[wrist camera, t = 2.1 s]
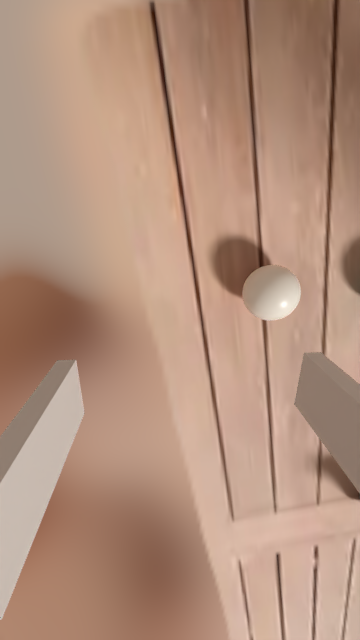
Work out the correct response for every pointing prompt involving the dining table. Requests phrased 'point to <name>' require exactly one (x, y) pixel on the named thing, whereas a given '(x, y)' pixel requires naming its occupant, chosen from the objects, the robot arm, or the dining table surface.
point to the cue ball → (271, 292)
